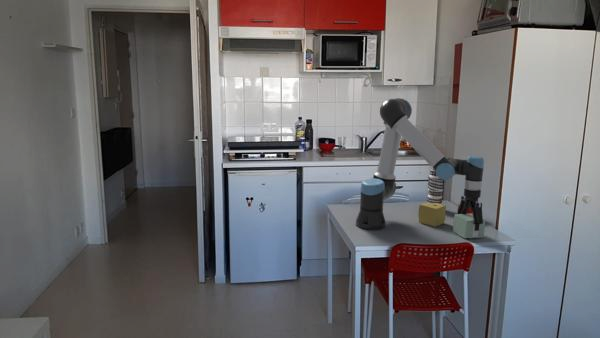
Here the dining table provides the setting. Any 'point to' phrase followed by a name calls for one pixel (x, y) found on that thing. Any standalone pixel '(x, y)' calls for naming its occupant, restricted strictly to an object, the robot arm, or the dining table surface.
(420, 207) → the cheese
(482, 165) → the robot arm
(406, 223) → the dining table surface
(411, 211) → the dining table surface
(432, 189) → the decorative candle
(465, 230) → the sage green cube
